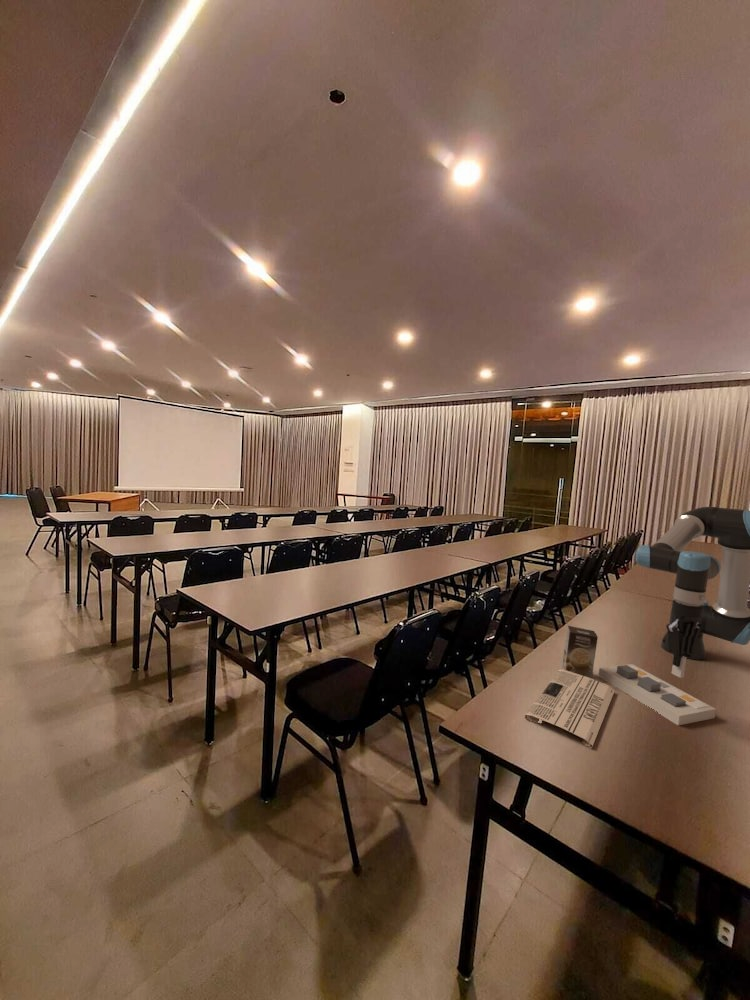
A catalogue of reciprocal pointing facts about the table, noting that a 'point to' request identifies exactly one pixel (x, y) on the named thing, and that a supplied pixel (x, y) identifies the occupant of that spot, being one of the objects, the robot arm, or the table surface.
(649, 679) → the middle button
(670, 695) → the button
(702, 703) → the button board
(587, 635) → the coffee box
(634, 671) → the button
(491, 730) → the table surface
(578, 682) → the newspaper
